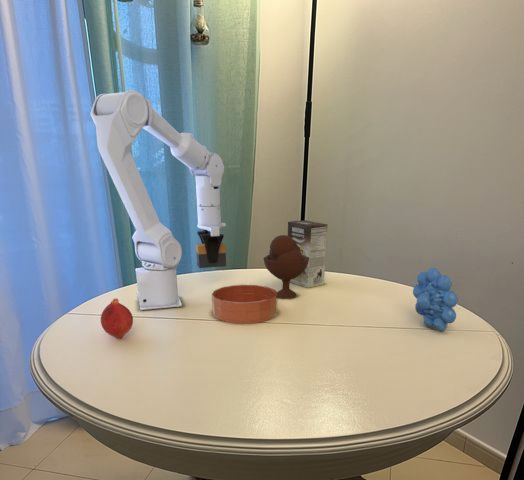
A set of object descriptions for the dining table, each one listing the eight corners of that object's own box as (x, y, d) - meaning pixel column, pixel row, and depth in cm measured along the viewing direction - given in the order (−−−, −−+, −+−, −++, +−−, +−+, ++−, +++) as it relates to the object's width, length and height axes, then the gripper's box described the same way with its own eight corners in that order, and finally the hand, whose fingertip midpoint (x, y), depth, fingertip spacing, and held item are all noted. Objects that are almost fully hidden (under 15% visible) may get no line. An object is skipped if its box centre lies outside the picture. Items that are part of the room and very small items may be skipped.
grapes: (394, 321, 96) (401, 265, 91) (419, 317, 98) (427, 262, 93) (433, 340, 86) (443, 278, 81) (460, 335, 88) (471, 274, 84)
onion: (117, 346, 84) (111, 305, 81) (97, 340, 87) (90, 300, 84) (141, 336, 88) (136, 297, 85) (121, 330, 91) (115, 292, 88)
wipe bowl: (219, 326, 93) (218, 305, 92) (208, 306, 106) (207, 287, 104) (285, 319, 97) (285, 299, 95) (266, 300, 109) (266, 282, 108)
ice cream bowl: (309, 301, 108) (312, 238, 103) (263, 301, 109) (262, 238, 103) (306, 289, 118) (308, 231, 112) (263, 289, 118) (263, 231, 112)
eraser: (199, 268, 115) (198, 246, 113) (197, 265, 118) (195, 244, 116) (226, 266, 117) (225, 244, 115) (223, 263, 120) (222, 242, 118)
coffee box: (285, 281, 126) (286, 221, 120) (303, 277, 130) (304, 219, 123) (307, 288, 119) (309, 225, 113) (325, 284, 123) (328, 223, 117)
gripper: (231, 208, 106) (232, 265, 112) (218, 202, 119) (220, 254, 125) (201, 209, 105) (204, 267, 110) (192, 203, 117) (195, 255, 123)
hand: (211, 260), depth 117 cm, fingers closed on eraser, 3 cm apart
